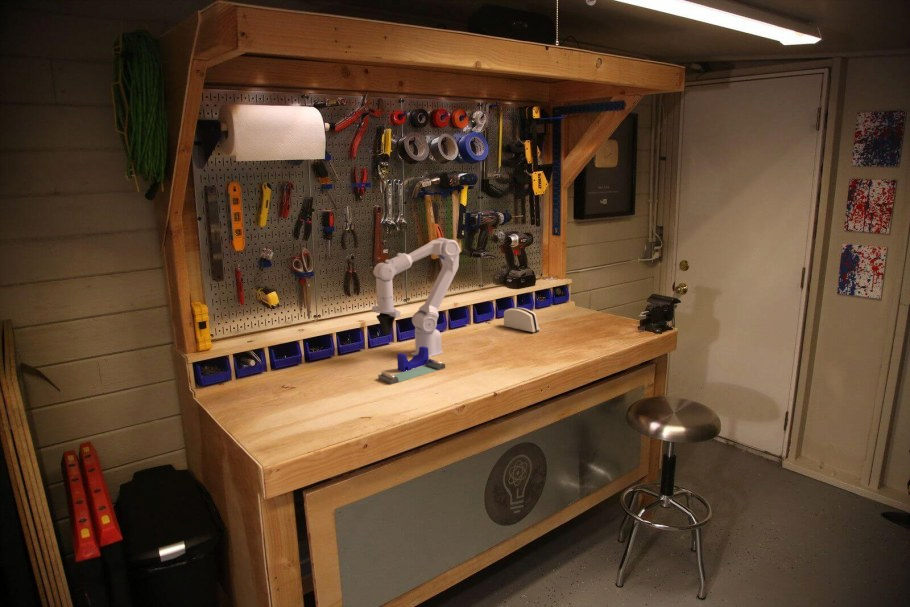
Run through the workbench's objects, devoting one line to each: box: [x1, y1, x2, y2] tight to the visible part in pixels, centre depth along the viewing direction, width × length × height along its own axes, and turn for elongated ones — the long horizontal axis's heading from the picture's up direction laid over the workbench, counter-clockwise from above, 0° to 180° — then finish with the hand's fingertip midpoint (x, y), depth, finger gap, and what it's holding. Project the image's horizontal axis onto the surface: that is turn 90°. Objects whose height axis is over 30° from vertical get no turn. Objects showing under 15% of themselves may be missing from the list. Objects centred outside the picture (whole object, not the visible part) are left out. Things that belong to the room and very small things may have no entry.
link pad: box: [391, 365, 438, 383], centre depth 206 cm, size 16×7×1 cm, turn 132°
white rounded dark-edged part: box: [503, 307, 541, 333], centre depth 257 cm, size 17×5×10 cm, turn 43°
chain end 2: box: [425, 358, 446, 371], centre depth 212 cm, size 3×7×2 cm, turn 42°
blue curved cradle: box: [396, 346, 430, 373], centre depth 213 cm, size 12×4×6 cm, turn 138°
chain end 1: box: [377, 371, 399, 385], centre depth 199 cm, size 3×7×2 cm, turn 42°
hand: (387, 334), depth 219 cm, fingers closed
